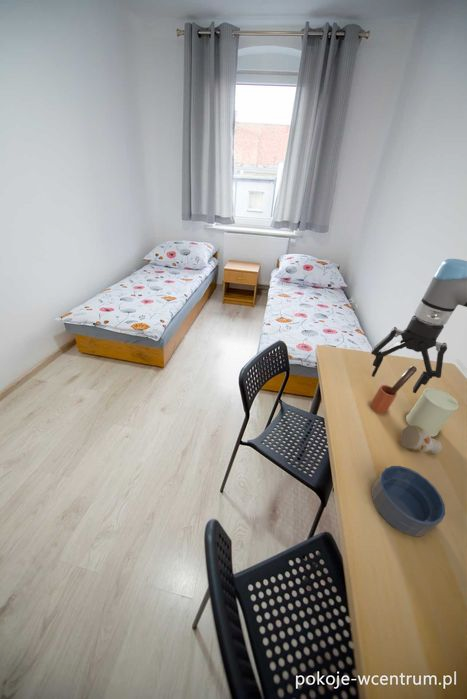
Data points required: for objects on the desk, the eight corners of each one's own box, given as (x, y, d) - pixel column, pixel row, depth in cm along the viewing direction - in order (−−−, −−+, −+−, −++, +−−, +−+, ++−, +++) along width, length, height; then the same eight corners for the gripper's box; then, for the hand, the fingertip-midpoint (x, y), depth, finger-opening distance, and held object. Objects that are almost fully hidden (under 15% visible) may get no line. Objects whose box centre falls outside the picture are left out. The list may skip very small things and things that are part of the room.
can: (441, 440, 83) (464, 413, 76) (408, 430, 85) (428, 402, 78) (434, 418, 90) (454, 392, 83) (403, 410, 92) (421, 383, 85)
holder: (387, 406, 93) (397, 389, 88) (385, 416, 89) (396, 398, 84) (371, 400, 95) (381, 382, 90) (369, 409, 91) (379, 391, 86)
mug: (443, 463, 76) (446, 445, 70) (402, 460, 81) (401, 444, 75) (437, 438, 81) (439, 419, 75) (399, 436, 86) (398, 419, 80)
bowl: (430, 498, 67) (444, 485, 64) (431, 550, 58) (446, 538, 54) (375, 470, 72) (384, 456, 69) (366, 513, 63) (377, 500, 59)
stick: (381, 406, 92) (418, 367, 80) (381, 409, 91) (418, 370, 79) (376, 403, 92) (412, 363, 80) (375, 406, 91) (411, 366, 79)
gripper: (380, 310, 75) (352, 373, 87) (484, 341, 66) (436, 406, 78) (383, 301, 80) (356, 361, 93) (479, 329, 71) (436, 391, 84)
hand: (393, 382), depth 85 cm, fingers open, 11 cm apart
